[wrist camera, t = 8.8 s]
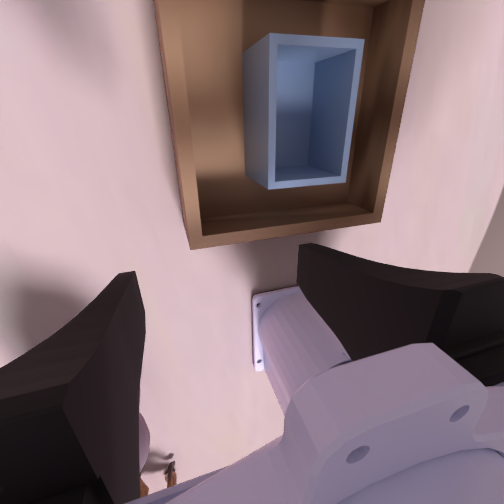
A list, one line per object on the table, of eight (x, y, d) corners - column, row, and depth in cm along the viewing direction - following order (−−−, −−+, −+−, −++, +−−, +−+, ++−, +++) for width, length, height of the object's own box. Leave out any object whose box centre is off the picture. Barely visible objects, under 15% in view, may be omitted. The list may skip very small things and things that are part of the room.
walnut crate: (348, 207, 24) (380, 222, 21) (184, 227, 20) (190, 250, 17) (378, -4, 18) (431, -32, 14) (149, -29, 14) (148, -76, 11)
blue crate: (309, 170, 21) (345, 182, 17) (245, 174, 19) (267, 189, 15) (318, 56, 17) (364, 39, 14) (242, 52, 16) (269, 32, 12)
